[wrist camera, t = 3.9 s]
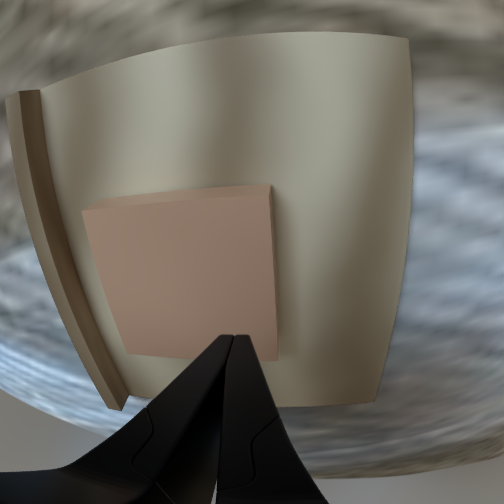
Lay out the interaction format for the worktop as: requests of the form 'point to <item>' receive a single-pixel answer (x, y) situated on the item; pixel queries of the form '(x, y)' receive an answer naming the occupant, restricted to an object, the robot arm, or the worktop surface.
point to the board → (236, 174)
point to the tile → (188, 268)
